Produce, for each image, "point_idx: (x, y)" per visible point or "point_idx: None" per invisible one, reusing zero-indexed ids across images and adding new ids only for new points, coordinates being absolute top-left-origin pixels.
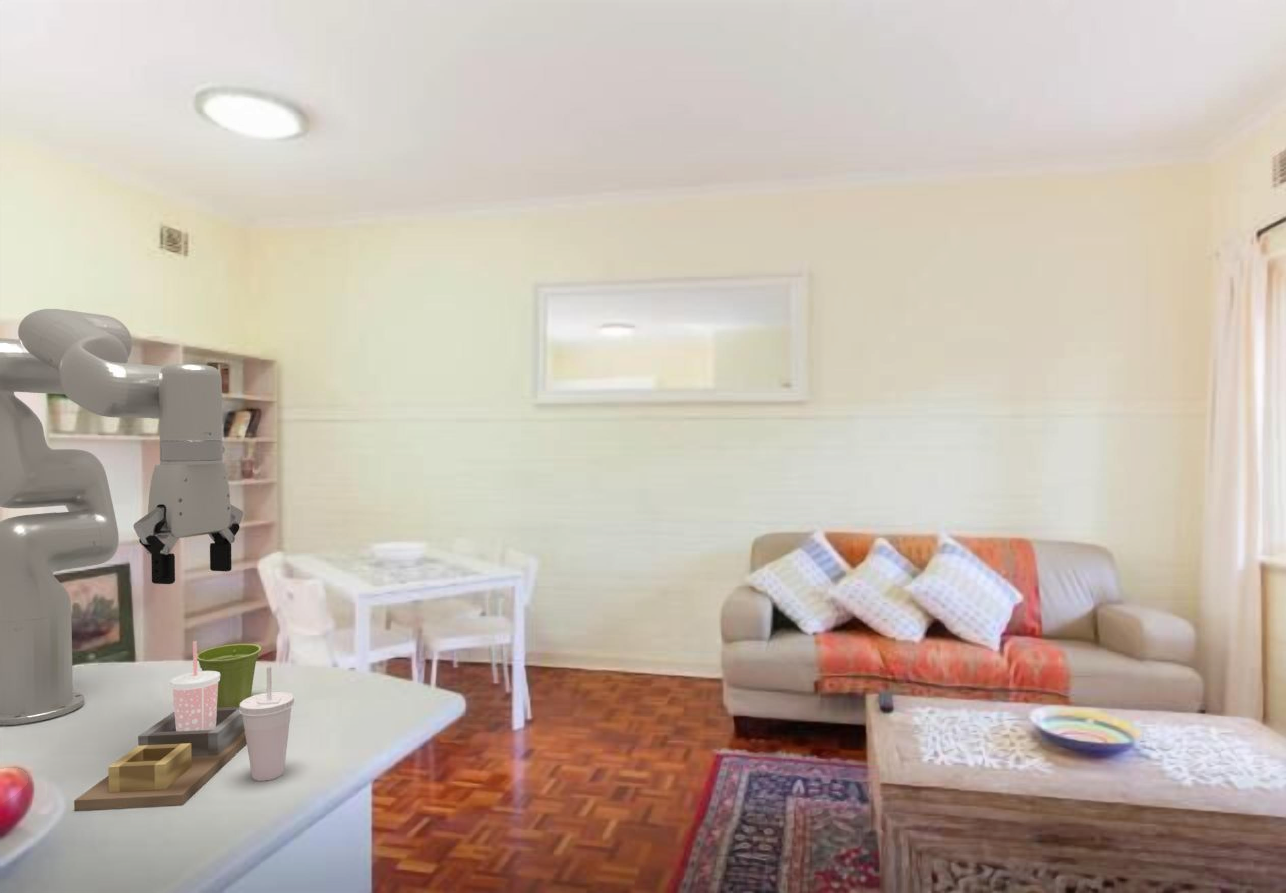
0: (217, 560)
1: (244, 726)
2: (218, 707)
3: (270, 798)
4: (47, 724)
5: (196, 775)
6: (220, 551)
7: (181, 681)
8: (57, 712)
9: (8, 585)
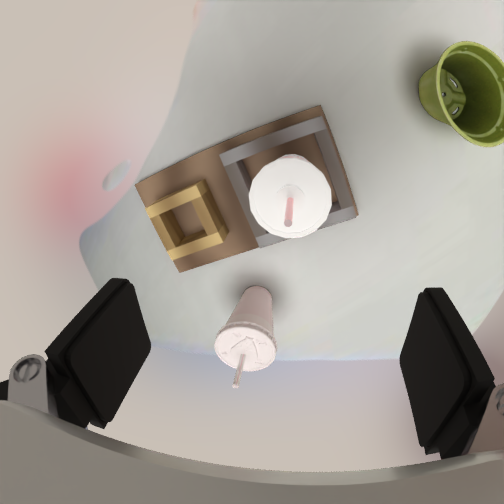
0: (423, 354)
1: (227, 321)
2: (419, 96)
3: (219, 326)
4: None
5: (213, 254)
6: (426, 402)
7: (267, 190)
8: None
9: None
